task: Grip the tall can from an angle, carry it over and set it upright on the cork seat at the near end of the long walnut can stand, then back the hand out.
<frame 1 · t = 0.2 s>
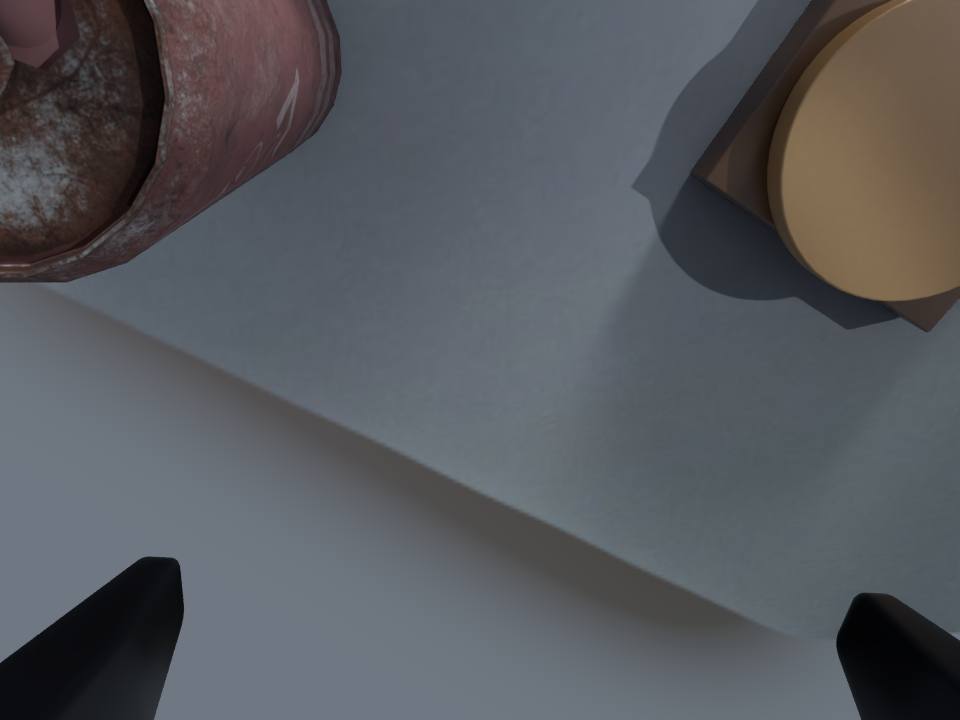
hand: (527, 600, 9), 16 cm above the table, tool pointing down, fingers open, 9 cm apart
can: (243, 48, 21), on the table
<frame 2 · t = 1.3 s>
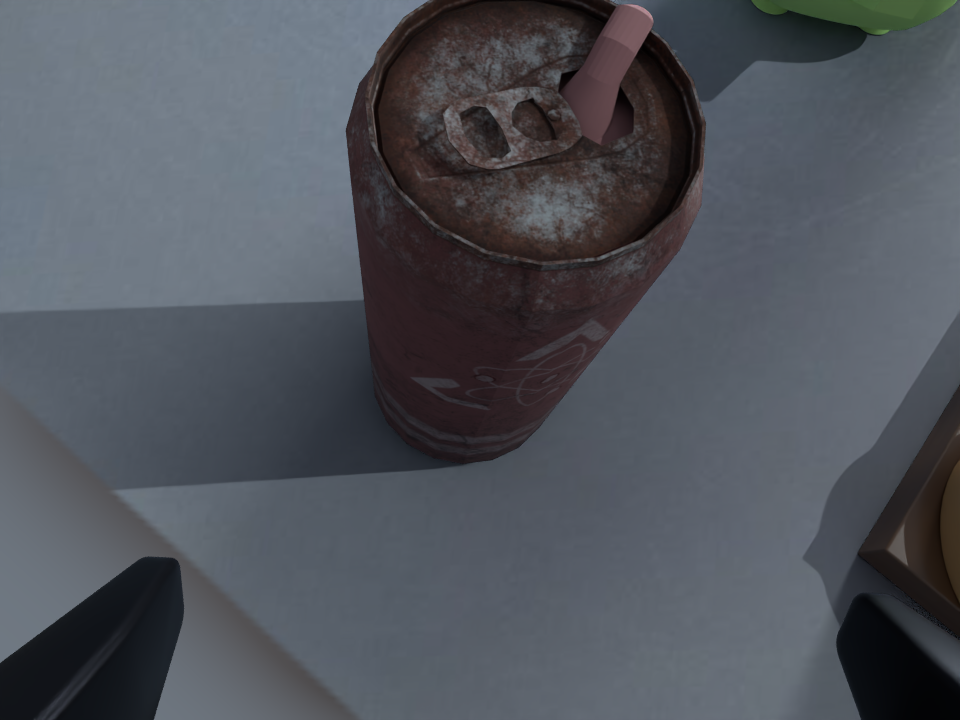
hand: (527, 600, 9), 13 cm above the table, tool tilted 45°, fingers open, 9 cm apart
can: (464, 376, 24), on the table
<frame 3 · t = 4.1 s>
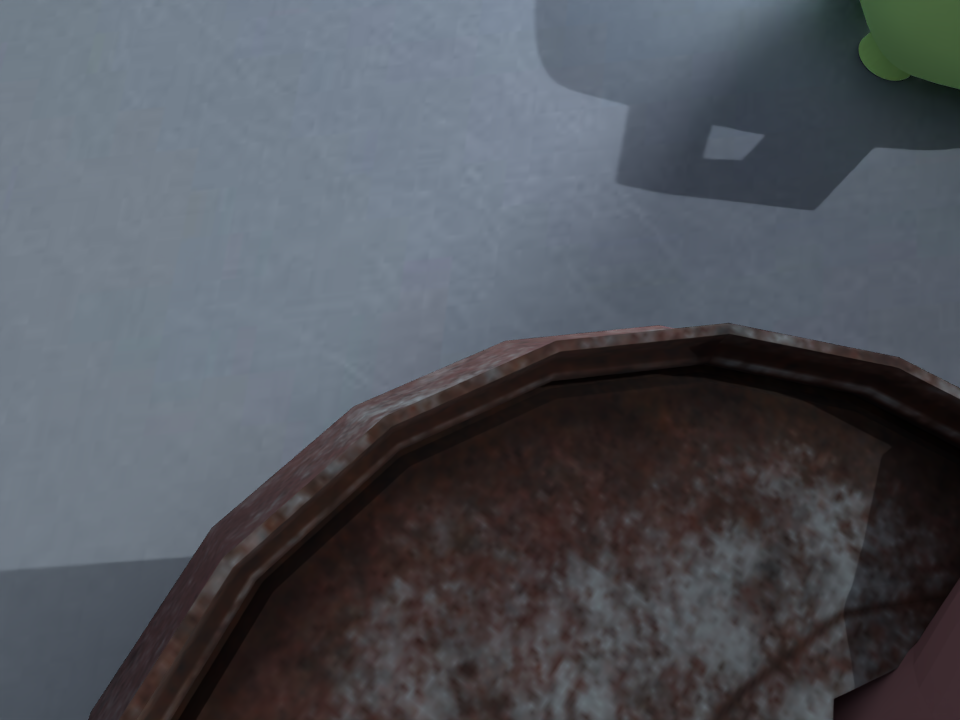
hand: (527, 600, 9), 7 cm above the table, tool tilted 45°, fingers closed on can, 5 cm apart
teapot: (939, 17, 24), on the table
can: (467, 671, 16), on the table, touching gripper
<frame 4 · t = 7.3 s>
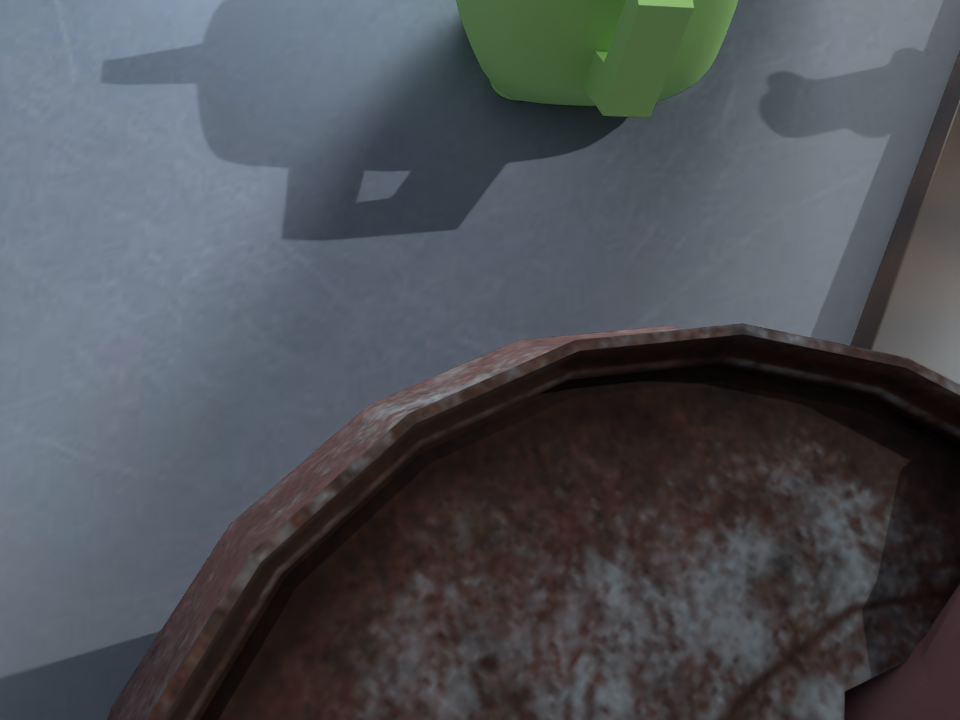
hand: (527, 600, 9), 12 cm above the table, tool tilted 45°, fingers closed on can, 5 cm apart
teapot: (562, 33, 28), on the table
can: (462, 670, 16), point 5 cm above the table, touching gripper
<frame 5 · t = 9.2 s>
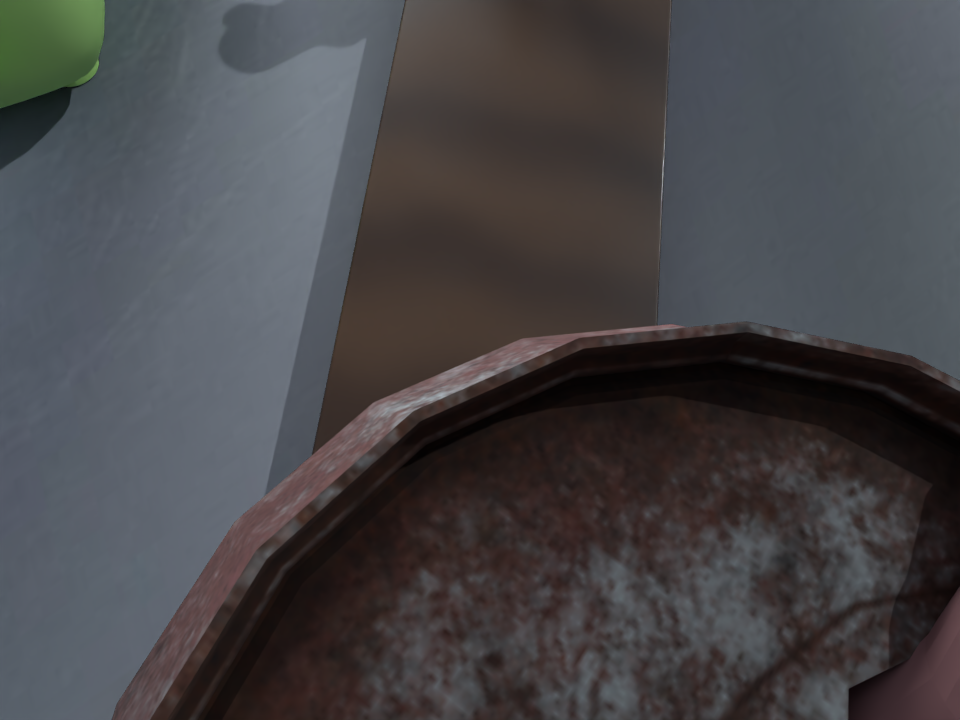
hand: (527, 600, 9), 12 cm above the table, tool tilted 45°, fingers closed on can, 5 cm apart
stand: (535, 22, 28), on the table
can: (463, 670, 16), point 5 cm above the table, touching gripper
when the fingers open (10 cm above the table, at t = 10.6 s): can stays where it is, resting on stand.
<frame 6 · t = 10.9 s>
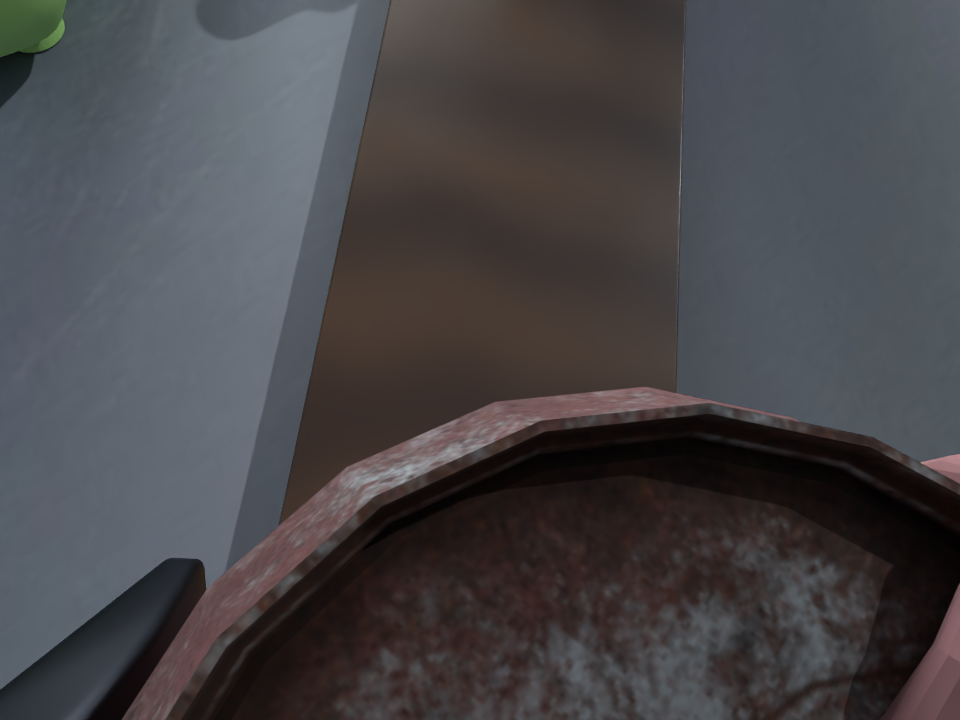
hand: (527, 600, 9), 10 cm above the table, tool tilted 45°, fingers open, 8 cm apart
can: (461, 681, 16), point 2 cm above the table, touching stand
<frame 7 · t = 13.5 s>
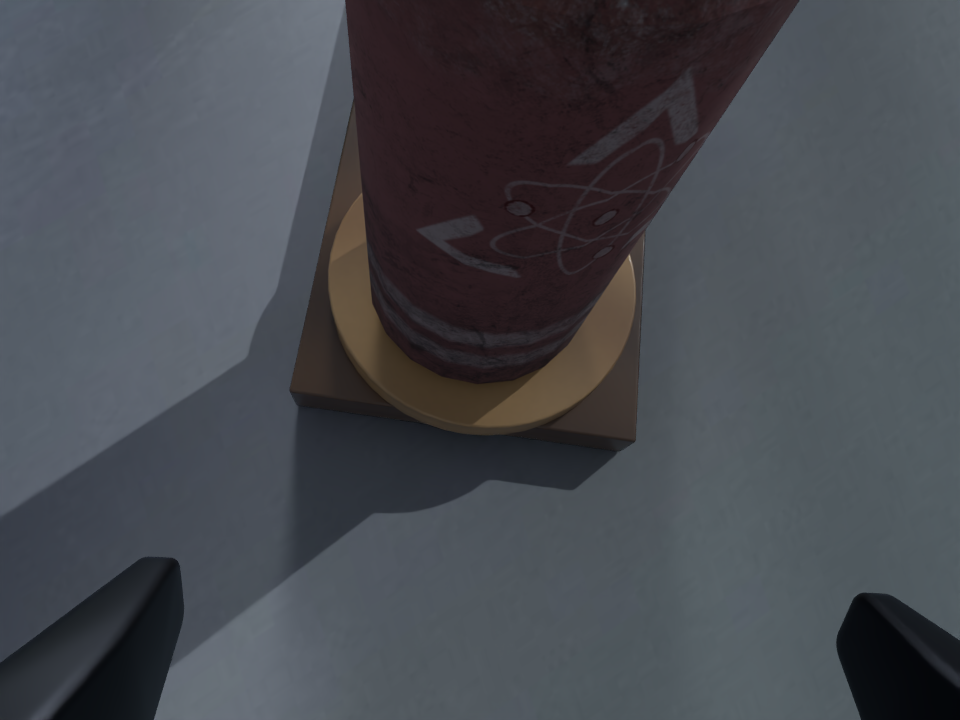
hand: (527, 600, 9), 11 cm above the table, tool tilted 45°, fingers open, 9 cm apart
can: (479, 286, 20), point 2 cm above the table, touching stand
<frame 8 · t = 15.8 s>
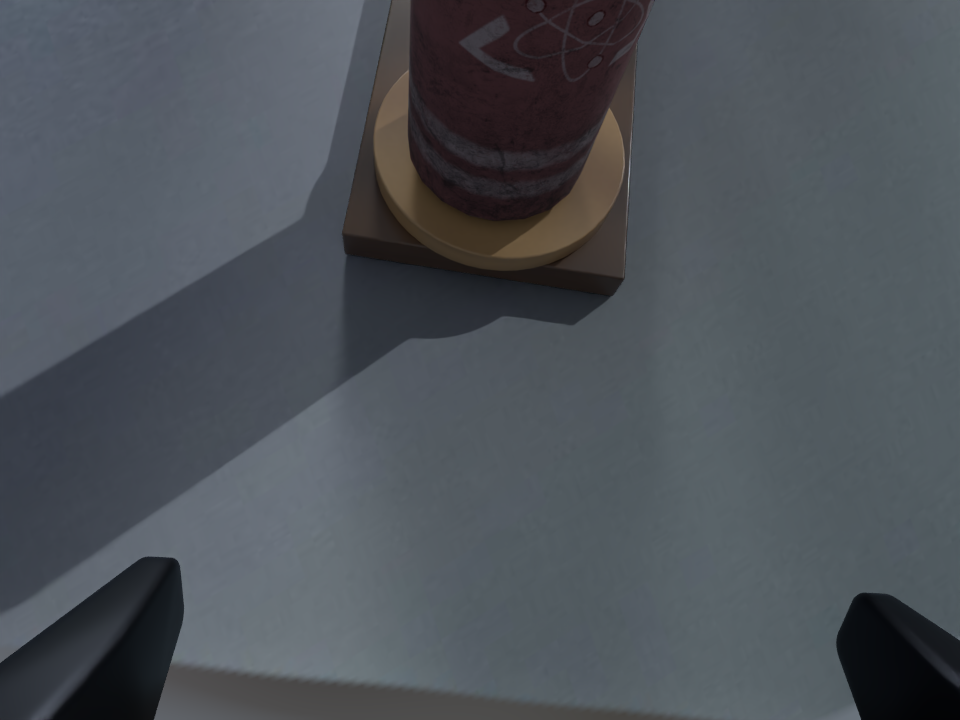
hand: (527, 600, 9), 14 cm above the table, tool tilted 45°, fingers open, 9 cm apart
can: (496, 153, 25), point 2 cm above the table, touching stand
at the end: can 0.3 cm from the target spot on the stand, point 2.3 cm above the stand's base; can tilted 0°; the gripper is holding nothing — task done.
